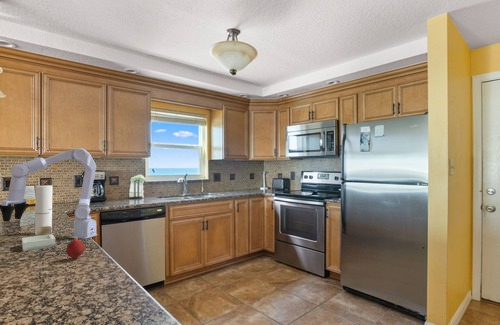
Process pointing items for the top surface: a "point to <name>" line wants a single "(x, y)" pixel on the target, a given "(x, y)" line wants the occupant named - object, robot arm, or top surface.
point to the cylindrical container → (43, 207)
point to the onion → (75, 248)
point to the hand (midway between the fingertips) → (12, 220)
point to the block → (44, 230)
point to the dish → (38, 242)
